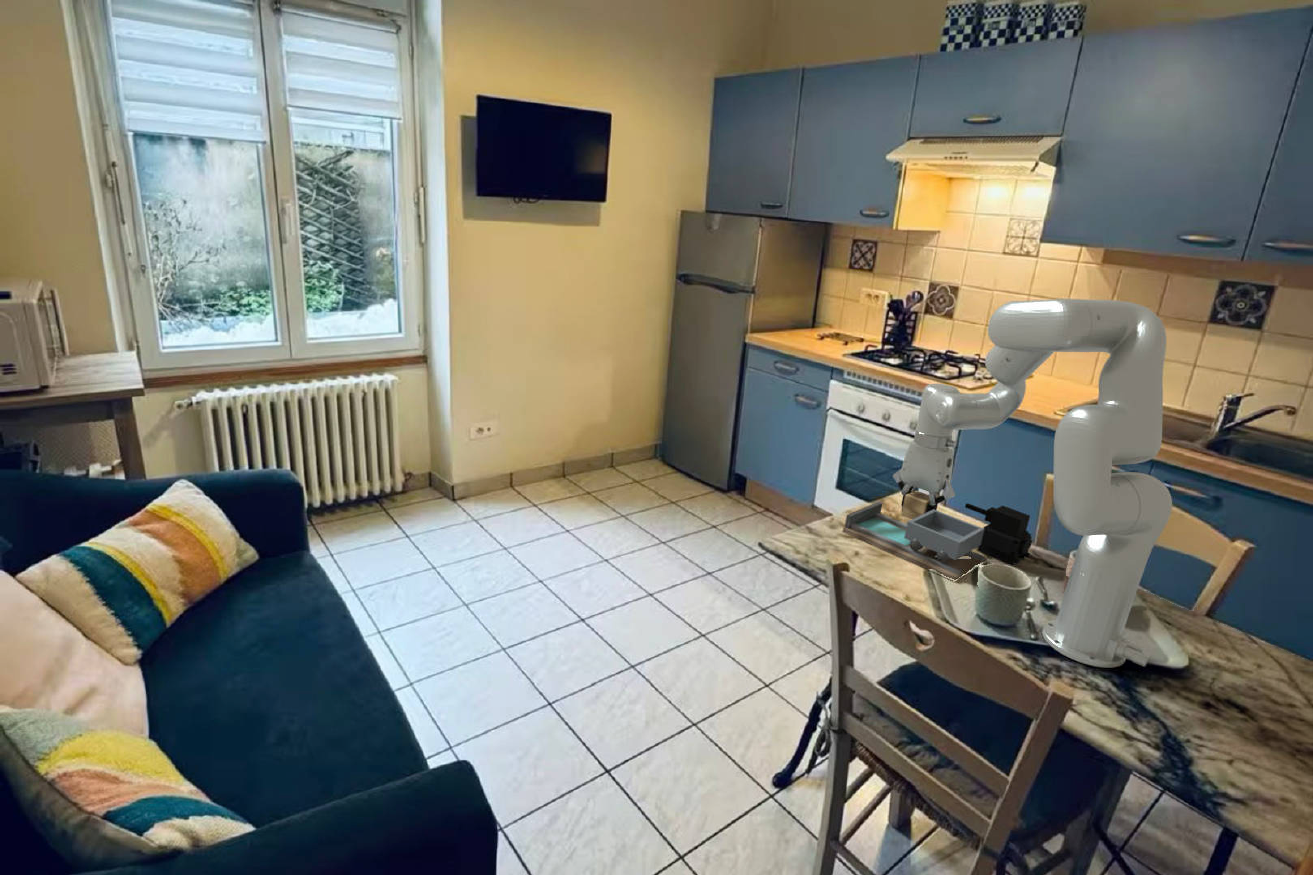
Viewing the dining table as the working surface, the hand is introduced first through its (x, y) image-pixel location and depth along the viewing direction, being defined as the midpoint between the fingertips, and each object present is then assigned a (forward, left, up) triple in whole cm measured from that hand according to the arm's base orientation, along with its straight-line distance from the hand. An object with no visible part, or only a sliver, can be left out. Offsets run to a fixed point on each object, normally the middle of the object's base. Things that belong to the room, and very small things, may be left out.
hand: (917, 514), depth 164 cm
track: (-6, +11, -3) cm, 13 cm away
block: (0, 0, -1) cm, 1 cm away
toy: (-16, -2, -3) cm, 17 cm away
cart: (-12, +11, 0) cm, 16 cm away
